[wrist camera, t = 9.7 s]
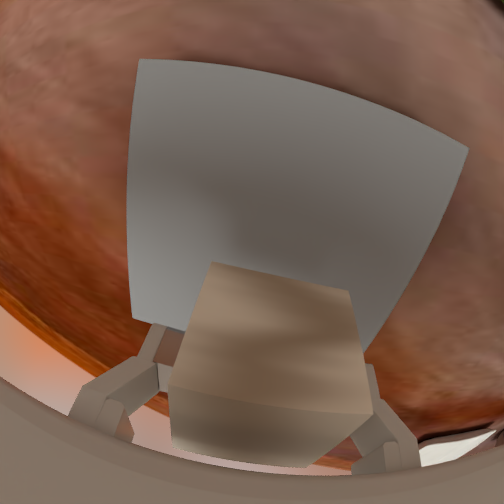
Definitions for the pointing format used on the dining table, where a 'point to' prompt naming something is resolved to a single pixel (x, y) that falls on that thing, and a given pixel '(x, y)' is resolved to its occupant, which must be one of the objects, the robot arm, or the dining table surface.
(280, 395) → the cream cube
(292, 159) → the pedestal
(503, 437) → the ceramic pitcher
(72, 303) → the dining table surface
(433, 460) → the square plate
